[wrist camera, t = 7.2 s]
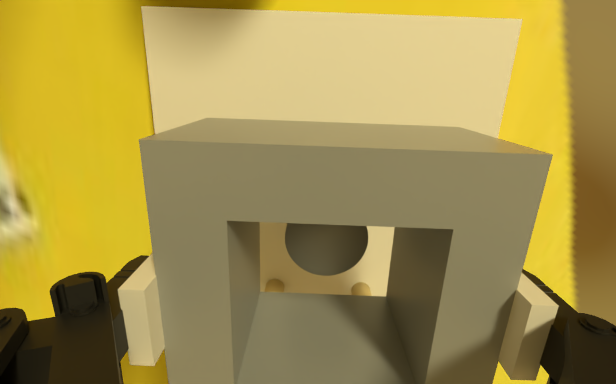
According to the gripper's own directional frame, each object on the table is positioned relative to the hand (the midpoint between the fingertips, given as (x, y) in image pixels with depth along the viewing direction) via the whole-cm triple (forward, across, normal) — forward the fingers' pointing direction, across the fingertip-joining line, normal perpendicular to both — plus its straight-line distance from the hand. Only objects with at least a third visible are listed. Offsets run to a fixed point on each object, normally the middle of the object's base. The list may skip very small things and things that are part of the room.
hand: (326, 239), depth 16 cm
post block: (+8, 0, 0) cm, 8 cm away
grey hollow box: (0, 0, -2) cm, 2 cm away
